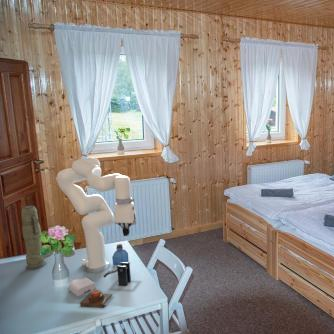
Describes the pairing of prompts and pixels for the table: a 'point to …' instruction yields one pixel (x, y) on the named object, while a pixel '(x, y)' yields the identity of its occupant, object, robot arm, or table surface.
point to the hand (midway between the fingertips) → (126, 235)
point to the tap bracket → (124, 274)
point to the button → (95, 293)
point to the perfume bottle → (120, 255)
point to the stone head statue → (32, 237)
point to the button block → (95, 300)
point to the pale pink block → (81, 286)
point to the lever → (114, 271)
